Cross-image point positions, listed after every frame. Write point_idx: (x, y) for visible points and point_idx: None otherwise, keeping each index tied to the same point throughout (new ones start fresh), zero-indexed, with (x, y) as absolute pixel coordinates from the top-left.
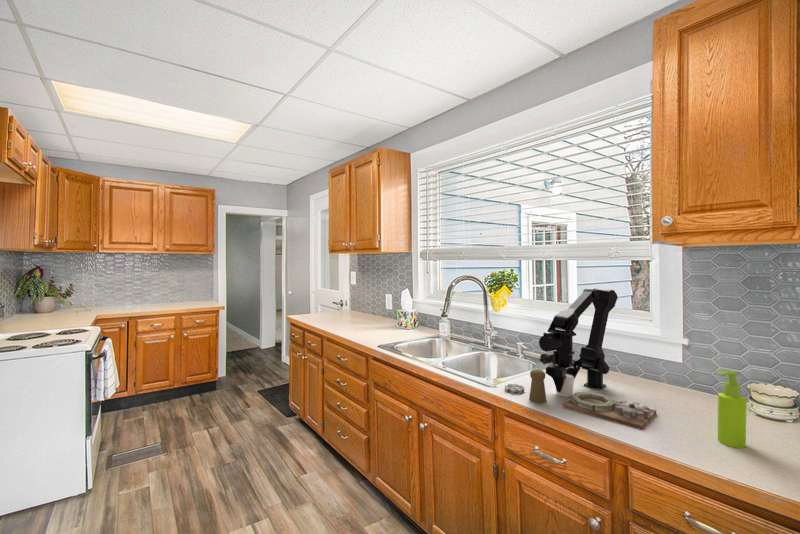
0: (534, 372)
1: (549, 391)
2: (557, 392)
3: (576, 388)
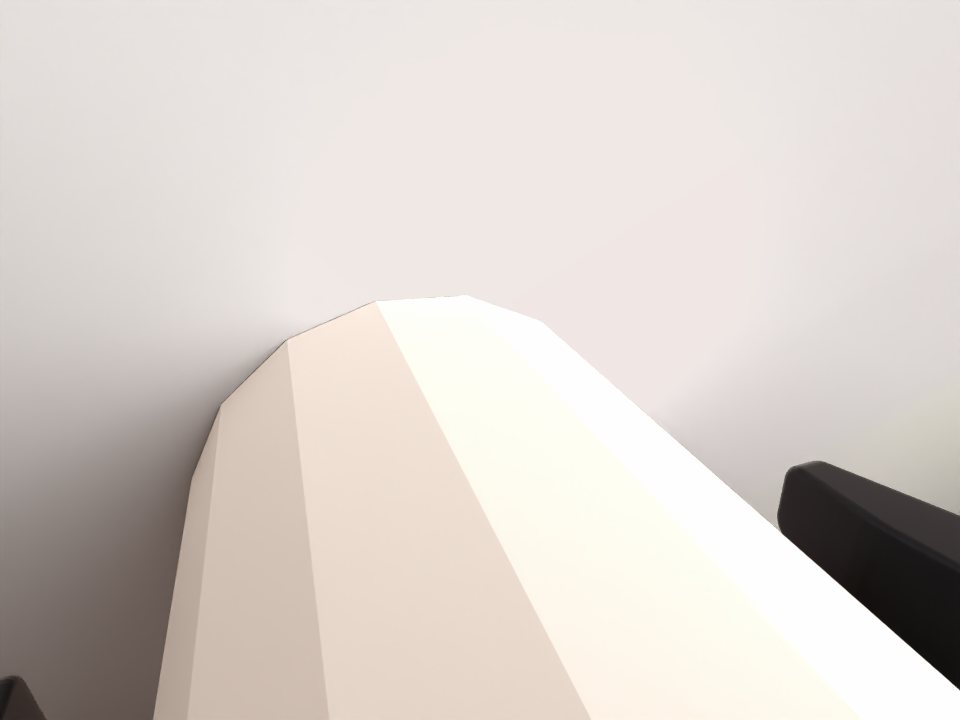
0: None
1: (229, 111)
2: (203, 474)
3: (948, 395)
